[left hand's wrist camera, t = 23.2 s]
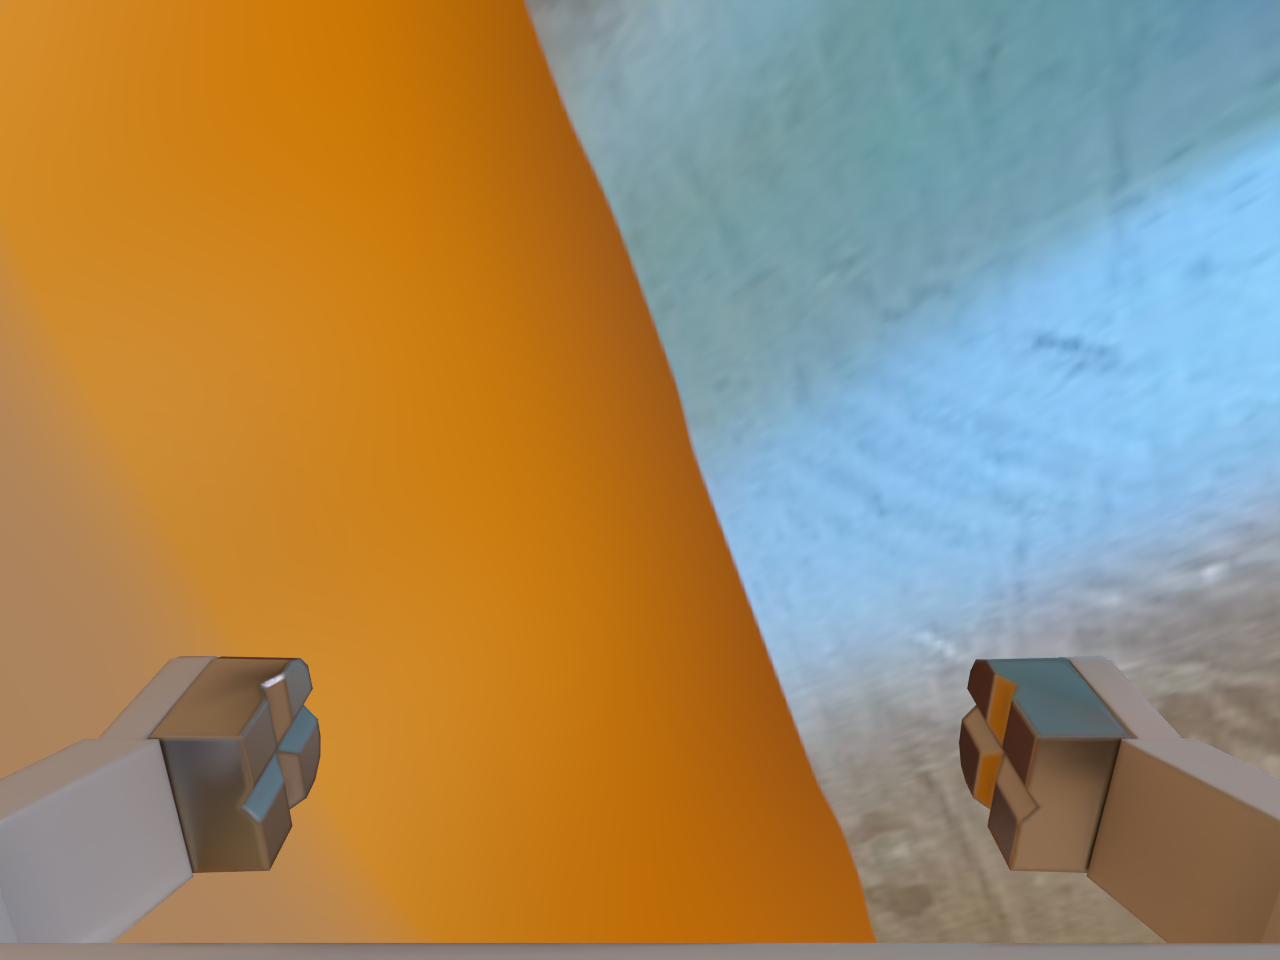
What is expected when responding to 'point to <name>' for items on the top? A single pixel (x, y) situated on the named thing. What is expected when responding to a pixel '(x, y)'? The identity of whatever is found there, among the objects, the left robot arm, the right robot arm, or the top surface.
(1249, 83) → the top surface
